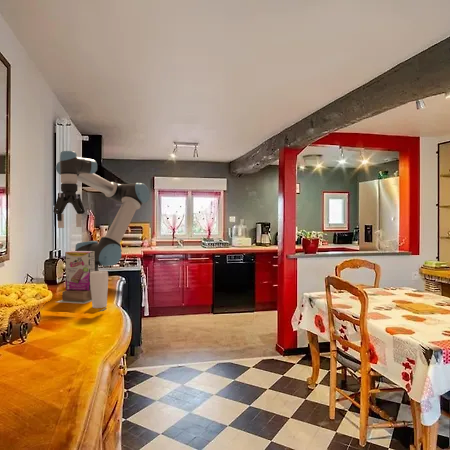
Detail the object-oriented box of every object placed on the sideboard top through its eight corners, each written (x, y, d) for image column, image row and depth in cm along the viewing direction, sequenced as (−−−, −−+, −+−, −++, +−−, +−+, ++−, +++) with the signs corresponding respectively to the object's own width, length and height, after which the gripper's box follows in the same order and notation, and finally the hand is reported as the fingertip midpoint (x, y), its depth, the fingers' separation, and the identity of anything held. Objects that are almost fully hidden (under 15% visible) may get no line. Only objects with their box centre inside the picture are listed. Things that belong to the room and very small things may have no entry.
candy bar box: (65, 290, 162) (64, 251, 162) (71, 288, 167) (70, 250, 167) (90, 291, 161) (89, 251, 160) (95, 288, 166) (95, 250, 165)
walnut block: (77, 296, 170) (77, 287, 170) (97, 297, 168) (97, 288, 168) (62, 301, 161) (62, 291, 161) (83, 302, 158) (83, 292, 158)
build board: (76, 298, 173) (76, 294, 173) (104, 299, 169) (104, 296, 169) (55, 305, 159) (55, 301, 159) (84, 307, 156) (84, 303, 156)
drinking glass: (89, 309, 152) (88, 271, 151) (107, 307, 155) (106, 270, 154) (91, 313, 146) (91, 273, 145) (110, 310, 149) (109, 272, 148)
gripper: (78, 185, 199) (79, 226, 200) (44, 181, 175) (45, 228, 176) (91, 185, 197) (92, 226, 198) (58, 181, 173) (59, 228, 174)
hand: (70, 227), depth 187 cm, fingers open, 13 cm apart
